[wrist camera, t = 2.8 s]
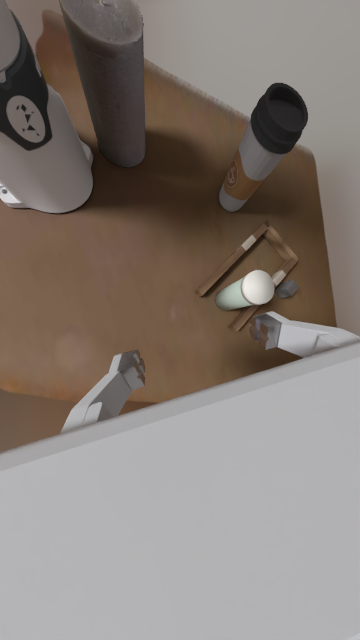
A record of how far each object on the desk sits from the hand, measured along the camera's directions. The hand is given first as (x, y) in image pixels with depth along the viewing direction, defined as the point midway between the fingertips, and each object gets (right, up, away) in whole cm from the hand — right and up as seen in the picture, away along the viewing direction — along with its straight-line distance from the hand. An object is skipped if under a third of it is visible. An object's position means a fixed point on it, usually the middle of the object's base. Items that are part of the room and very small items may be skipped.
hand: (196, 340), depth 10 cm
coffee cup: (+11, +31, +25) cm, 41 cm away
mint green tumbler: (+9, +6, +23) cm, 26 cm away
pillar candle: (-13, +38, +21) cm, 46 cm away
